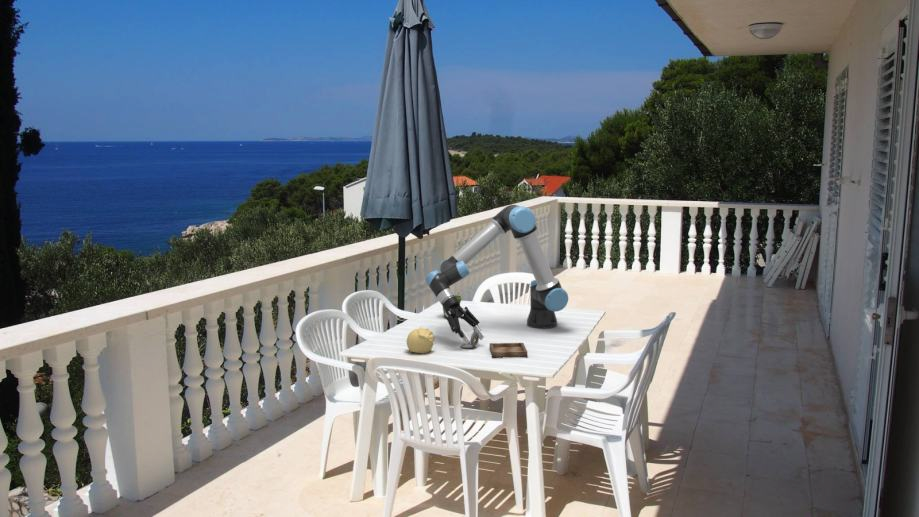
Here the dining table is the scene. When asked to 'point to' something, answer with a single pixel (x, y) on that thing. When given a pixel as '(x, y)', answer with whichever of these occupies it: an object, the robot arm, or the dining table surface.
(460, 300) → the plant pot
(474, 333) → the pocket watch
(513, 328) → the dining table surface
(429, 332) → the yellow lumpy ball
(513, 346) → the walnut tray
